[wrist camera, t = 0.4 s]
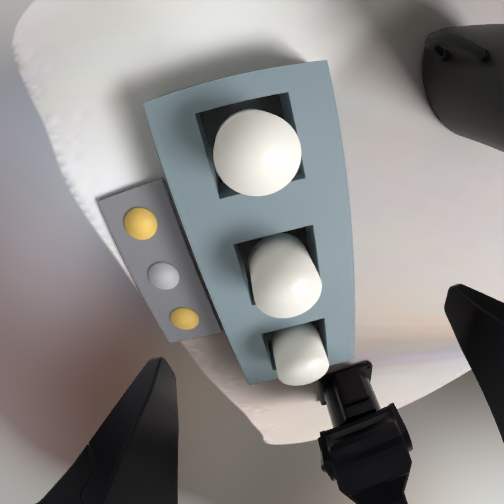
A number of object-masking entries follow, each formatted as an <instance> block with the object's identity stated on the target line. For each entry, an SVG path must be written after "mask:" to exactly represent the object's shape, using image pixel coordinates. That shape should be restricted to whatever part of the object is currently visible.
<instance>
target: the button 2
mask: <svg viewBox="0 0 504 504" xmlns="http://www.w3.org/2000/svg"><path fill="white" fill-rule="evenodd" d="M271 343H272V348H273V354H274V359H275V364H276V369H277V375H278V378H279V380H280V381H281V382H282V383H284V384H287V385H291V386H300V385H306V384H309V383H312V382H314V381H316V380H318V379H319V378H321V377H322V376H323V375H324V374H325V373H326V372H327V370H328V368H329V362H328V359H327V356H326V353H325V350H324V347H323V345H322V342H321V339H320V336H319V333H318V331H317V328H316V327H315V326H314V325H313V324H312V323H310V322H307V323H304V324H300V325H296V326H292V327H288V328H284V329H280V330H276V331H275V332H274V334H273V335H272V338H271Z"/></svg>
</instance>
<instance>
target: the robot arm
mask: <svg viewBox="0 0 504 504" xmlns="http://www.w3.org/2000/svg"><path fill="white" fill-rule="evenodd" d="M444 309H445V313H446V316H447V318H448V320H449V322H450V324H451V326H452V329H453V331H454V333H455V336H456V338H457V340H458V343H459V345H460V347H461V349H462V351H463V353H464V355H465V357H466V359H467V361H468V363H469V365H470V367H471V369H472V371H473V373H474V375H475V377H476V379H477V381H478V383H479V385H480V387H481V389H482V391H483V393H484V396H485V398H486V400H487V403H488V405H489V407H490V409H491V412H492V414H493V417H494V419H495V421H496V424H497V426H498V429H499V432H500V434H501V437H502V440H503V442H504V303H503V302H501V301H498V300H496V299H494V298H492V297H490V296H487V295H485V294H483V293H481V292H479V291H476V290H474V289H472V288H470V287H467V286H465V285H463V284H456V285H453V286H451V287H450V288H449V290H448V293H447V297H446V301H445V306H444ZM371 373H372V364H371V362H367V363H364V364H361V365H358V366H355V367H352V368H349V369H346V370H342V371H339V372H336V373H332V374H329V375H325V376H322V377H321V378H319V379H318V384H319V393H320V402H321V405H326V404H327V407H328V411H329V414H330V418H331V421H332V425H333V429H330V430H327V431H322V432H320V436H321V437H319V438H318V442H319V446H320V451H321V468H322V470H323V471H324V472H326V473H328V475H329V476H330V478H331V480H332V481H335V480H337V484H338V487H339V490H340V491H341V492H342V493H343V494H345V495H346V496H347V497H348V498H350V499H351V500H352V501H353V502H355V503H356V504H408V503H407V500H406V497H405V494H404V491H405V487H406V484H407V480H408V476H409V472H410V468H411V464H412V461H411V458H410V455H409V451H411V450H412V449H413V447H412V443H411V439H410V436H409V434H408V431H407V429H406V426H405V425H404V423H403V421H402V419H401V417H400V415H399V413H398V411H397V409H396V407H395V405H394V403H391V404H389V406H387V407H384V408H382V409H381V408H380V406H379V403H378V401H377V398H376V396H375V394H374V391H373V389H372V386H371V384H370V380H371ZM178 434H179V420H178V406H177V390H176V378H175V374H174V372H173V371H172V369H171V368H170V366H169V364H168V363H167V361H166V360H165V359H164V358H163V357H159V358H152V359H150V360H149V361H148V362H147V364H146V365H145V366H144V368H143V369H142V370H141V372H140V373H139V374H138V376H137V377H136V378H135V380H134V381H133V382H132V384H131V385H130V386H129V388H128V389H127V390H126V392H125V393H124V395H123V396H122V397H121V399H120V400H119V401H118V403H117V404H116V406H115V407H114V408H113V410H112V411H111V412H110V414H109V415H108V416H107V418H106V419H105V421H104V422H103V424H102V425H101V426H100V427H99V429H98V430H97V432H96V433H95V434H94V436H93V437H92V439H91V440H90V441H89V445H86V447H85V448H84V450H83V451H82V452H81V454H80V455H79V457H78V458H77V459H76V460H75V462H74V463H73V464H72V466H71V467H70V468H69V469H68V470H67V472H66V473H65V474H64V475H63V476H62V478H60V480H59V481H58V482H57V483H56V484H55V485H54V486H53V488H52V489H51V490H50V491H49V492H48V493H47V494H46V495H45V496H44V498H43V499H41V500H40V501H39V502H38V503H36V504H178V490H177V489H178V481H177V480H178V479H177V478H178Z"/></svg>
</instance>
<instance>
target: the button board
mask: <svg viewBox="0 0 504 504" xmlns="http://www.w3.org/2000/svg"><path fill="white" fill-rule="evenodd" d="M275 94H279V98H280V102H281V106H282V111H283V115H284V120H285V121H286V122H287V123H288V124H289V125H290V126H291V127H292V128H293V129H294V131H295V132H296V134H297V136H298V138H299V141H300V145H301V162H300V165H299V168H298V171H297V173H296V174H295V176H294V177H293V179H292V180H291V181H290V182H289V183H288V184H287V185H286V186H285V187H284V188H282V189H280V190H279V191H277V192H275V193H272V194H269V195H265V196H248V195H244V194H241V193H238V192H236V191H234V190H233V189H231V188H230V187H229V186H227V185H226V184H225V183H221V184H220V182H219V179H218V175H217V172H216V168H215V165H214V161H213V158H212V154H211V151H210V147H209V144H208V140H207V137H206V133H205V130H204V126H203V123H202V119H201V116H200V112H203V111H207V110H210V109H214V108H218V107H221V106H225V105H229V104H233V103H237V102H242V101H246V100H250V99H255V98H260V97H265V96H270V95H275ZM142 104H143V107H144V110H145V114H146V117H147V120H148V124H149V127H150V130H151V133H152V136H153V140H154V143H155V146H156V149H157V152H158V155H159V158H160V161H161V164H162V167H163V170H164V173H165V176H166V179H167V182H168V185H169V188H170V191H171V194H172V196H173V199H174V202H175V205H176V208H177V210H178V213H179V216H180V219H181V222H182V224H183V227H184V230H185V232H186V235H187V238H188V240H189V243H190V246H191V248H192V251H193V254H194V256H195V259H196V261H197V264H198V266H199V269H200V272H201V274H202V277H203V279H204V282H205V284H206V287H207V289H208V292H209V294H210V296H211V299H212V301H213V304H214V306H215V309H216V311H217V313H218V316H219V318H220V321H221V323H222V325H223V328H224V330H225V332H226V335H227V337H228V339H229V342H230V344H231V346H232V348H233V351H234V353H235V355H236V357H237V360H238V362H239V364H240V366H241V369H242V371H243V373H244V375H245V377H246V380H247V382H248V384H249V385H252V384H257V383H262V382H267V381H271V380H276V379H279V378H278V375H277V369H276V364H275V359H274V354H273V348H272V345H271V346H268V343H267V340H266V337H265V334H264V333H267V332H272V331H276V330H280V329H284V328H288V327H292V326H296V325H300V324H304V323H307V322H311V321H315V320H318V324H319V336H320V339H321V342H322V345H323V347H324V350H325V353H326V356H327V359H328V362H329V366H331V365H334V364H337V363H341V362H344V361H347V360H351V359H354V347H355V282H354V256H353V239H352V224H351V212H350V201H349V191H348V182H347V173H346V165H345V158H344V150H343V144H342V137H341V130H340V124H339V118H338V113H337V107H336V102H335V96H334V91H333V86H332V81H331V77H330V72H329V67H328V63H327V60H324V61H315V62H306V63H298V64H291V65H285V66H279V67H273V68H267V69H262V70H257V71H252V72H247V73H242V74H238V75H233V76H229V77H225V78H221V79H217V80H213V81H210V82H206V83H202V84H199V85H195V86H192V87H189V88H185V89H182V90H179V91H176V92H173V93H170V94H167V95H164V96H161V97H158V98H155V99H152V100H150V101H147V102H144V103H142ZM301 227H305V230H306V237H307V243H308V250H309V256H310V258H311V260H312V262H313V264H314V266H315V268H316V270H317V272H318V274H319V276H320V279H321V282H322V291H321V294H320V297H319V299H318V300H317V302H316V303H315V304H314V305H313V306H312V307H311V308H310V309H309V310H307V311H306V312H304V313H302V314H300V315H298V316H295V317H291V318H275V317H271V316H269V315H266V314H265V313H263V312H262V311H261V310H260V309H259V308H258V307H257V305H256V303H255V301H254V295H253V289H252V282H251V280H249V281H248V277H247V274H246V271H245V267H244V264H243V261H242V257H241V254H240V251H239V247H238V244H237V243H241V242H245V241H249V240H253V239H257V238H261V237H265V236H269V235H273V234H277V233H281V232H285V231H289V230H293V229H297V228H301Z"/></svg>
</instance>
